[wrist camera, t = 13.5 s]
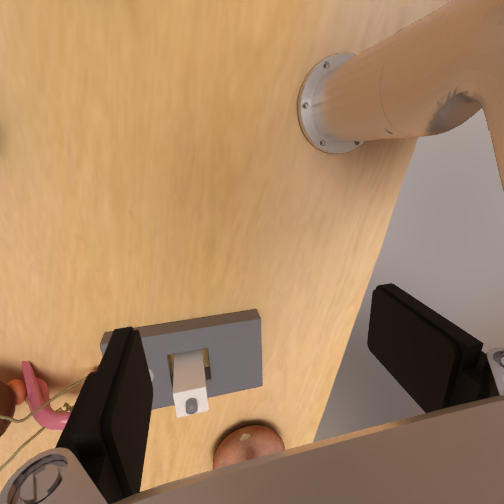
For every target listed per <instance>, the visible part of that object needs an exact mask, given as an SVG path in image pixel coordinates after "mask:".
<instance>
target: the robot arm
mask: <svg viewBox="0 0 504 504" xmlns="http://www.w3.org/2000/svg"><path fill="white" fill-rule="evenodd" d="M323 65H324V66H325V69H324V67H323ZM303 105H304V106H305V108H303ZM481 108H483V111H484V114H485V117H486V121H487V125H488V129H489V131H490V134H491V139H492V143H493V148H494V152H495V157H496V161H497V166H498V170H499V175H500V178H501V182H502V187H503V190H504V0H452V1H451V2H449V3H447V4H446V5H444V6H443V7H441V8H439V9H438V10H436V11H434V12H432V13H431V14H429V15H427V16H425V17H424V18H422V19H420V20H418V21H417V22H415V23H413V24H411V25H410V26H408V27H406V28H404V29H403V30H401V31H399V32H397V33H395V34H394V35H392V36H390V37H388V38H387V39H385V40H383V41H381V42H379V43H378V44H376V45H374V46H372V47H371V48H369V49H367V50H365V51H363V52H362V53H360V54H358V55H355V54H351V53H337V54H334V55H331V56H329V57H327V58H325V59H324V60H322V61H321V62H319V63H318V64H317V65H315V67H314V68H313V69H312V70H311V71H310V72H309V74H308V75H307V77H306V78H305V80H304V82H303V85H302V87H301V90H300V94H299V99H298V117H299V122H300V126H301V128H302V131H303V133H304V135H305V136H306V138H307V139H308V140H309V142H310V143H311V144H312V145H313V146H315V147H316V148H318V149H319V150H321V151H324V152H327V153H334V154H339V153H346V152H350V151H352V150H354V149H356V148H358V147H359V146H360V145H362V144H363V143H364V142H365V141H366V140H380V139H394V138H408V137H419V136H430V135H437V134H440V133H444V132H447V131H449V130H451V129H453V128H455V127H457V126H459V125H461V124H462V123H464V122H465V121H467V120H468V119H469V118H470V117H472V116H473V115H474V114H475V113H476V112H477V111H478V110H480V109H481ZM354 141H355V143H354ZM320 142H321V145H320ZM367 344H368V347H369V350H370V351H371V352H372V353H373V354H374V355H375V357H376V358H377V359H378V360H379V361H380V362H381V363H382V365H383V366H384V367H385V368H386V369H387V370H388V371H389V372H390V373H391V375H392V376H393V377H394V378H395V379H396V380H397V381H398V382H399V384H400V385H401V386H402V387H403V388H404V389H405V390H406V391H407V392H408V394H409V395H410V396H411V397H412V398H413V399H414V400H415V401H416V403H417V404H418V405H419V406H420V407H421V408H422V409H423V410H424V411H425V414H421V415H418V416H414V417H410V418H406V419H402V420H398V421H394V422H390V423H386V424H382V425H379V426H375V427H371V428H367V429H364V430H360V431H356V432H352V433H348V434H345V435H340V436H337V437H333V438H330V439H325V440H322V441H318V442H314V443H310V444H306V445H303V446H299V447H295V448H291V449H288V450H284V451H280V452H277V453H273V454H269V455H266V456H262V457H258V458H254V459H251V460H247V461H243V462H240V463H236V464H232V465H228V466H225V467H221V468H218V469H214V470H211V471H207V472H204V473H200V474H197V475H193V476H190V477H186V478H183V479H180V480H176V481H173V482H169V483H166V484H163V485H160V486H157V487H154V488H151V489H148V490H145V491H142V492H140V486H141V479H142V472H143V465H144V458H145V451H146V444H147V437H148V430H149V423H150V416H151V409H152V402H153V385H152V381H151V377H150V373H149V369H148V365H147V360H146V356H145V352H144V348H143V344H142V340H141V336H140V332H139V330H134V329H133V327H126V328H120V329H115V330H114V331H113V334H112V336H111V338H110V341H109V343H108V346H107V348H106V351H105V353H104V355H103V358H102V360H101V363H100V365H99V367H98V370H97V371H95V372H91V373H90V374H89V375H88V376H87V378H86V380H85V383H84V385H83V387H82V389H81V391H80V394H79V396H78V398H77V400H76V403H75V405H74V407H73V409H72V412H71V414H70V416H69V418H68V421H67V423H66V425H65V427H64V430H63V432H62V434H61V436H60V439H59V441H58V443H57V445H56V447H55V448H54V449H49V450H47V451H44V452H42V453H40V454H38V455H36V456H35V457H33V458H31V459H30V460H28V461H27V462H26V463H25V464H24V465H22V466H21V467H20V468H19V469H18V470H17V471H16V472H15V473H14V474H13V475H12V476H11V478H10V479H9V480H8V481H7V483H6V485H5V486H4V488H3V490H2V491H1V494H0V504H504V348H493V349H490V350H489V351H488V352H487V354H485V353H484V352H482V351H481V350H482V347H483V343H482V342H480V341H479V340H477V339H476V338H474V337H473V336H471V335H470V334H468V333H467V332H465V331H464V330H462V329H461V328H459V327H458V326H456V325H455V324H453V323H452V322H450V321H449V320H447V319H446V318H444V317H442V316H441V315H440V314H438V313H436V312H435V311H434V310H432V309H430V308H429V307H427V306H426V305H424V304H423V303H421V302H420V301H418V300H417V299H415V298H414V297H412V296H411V295H409V294H408V293H406V292H405V291H403V290H402V289H400V288H399V287H397V286H396V285H394V284H384V285H379V286H377V287H376V289H375V290H374V291H373V295H372V304H371V314H370V323H369V332H368V342H367Z"/></svg>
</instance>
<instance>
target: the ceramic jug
mask: <svg viewBox="0 0 504 504" xmlns="http://www.w3.org/2000/svg"><path fill="white" fill-rule="evenodd" d="M284 450H285V447H284V443H283V441H282V439H281V437H280V436H279V435H278V434H277V433H276V432H275V431H273V430H272V429H271V428H268V427H266V426H260V425H252V426H246V427H243V428H240V429H238V430H236V431H234V432H232V433H231V434H229V435H228V436H227V437H226V438H225V439H224V440H223V441H222V442H221V443H220V445H219V446H218V448H217V450H216V452H215V455H214V459H213V470H214V469H218V468H221V467H225V466H228V465H232V464H236V463H240V462H243V461H247V460H251V459H254V458H258V457H262V456H266V455H269V454H273V453H277V452H280V451H284Z"/></svg>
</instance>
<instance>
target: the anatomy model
mask: <svg viewBox="0 0 504 504" xmlns="http://www.w3.org/2000/svg"><path fill="white" fill-rule="evenodd" d="M22 368H23V374H24V379H25V382H24V381H22V380H19V379H13V380H11V381H9V382H8V383H7V384H4V383H3V382H1V381H0V437H1V436H2V435H3V434H4V432H5V431H6V429H7V428H8V426H9V425H10V423H11V421H12V422H15V423H20V422H23V421H25V420H27V419H28V418H29V417H30V416H33V417H34V419H35V420H36V421H37V422H38V423H39V424H40V425H41V426H42V427H43V428H42V429H40V430H39V431H38V432H37V433H36V434H35V435H34V436H32V437H31V438H30V439H29V440H27V441H26V442H25V443H24V444H23V445H22V446H21V447H20V448H19V449H18V450H17V451H16V452H15V453H14V454H13V456H12V457H11V458H10V459H9V460H8V461H7V462H6V463H5V464H4V465H3V466H1V467H0V471H1V470H2V469H3V468H4V467H5V466H6V465H7V464H8V463H9V462H10V461H11V460H12V459H13V458H14V457H15V456H16V455H17V453H18V452H19V451H20V450H21V449H22V448H23V447H24V446H25V445H26V444H28V443H29V442H30V441H31V440H32V439H34V438H35V437H36V436H37V435H38V434H39V433H40V432H42V431H43V430H44V429H45V428H47V429H51V430H64V427H65V425H66V423H67V421H68V418H69V416H70V414H71V412H72V411H71V410H72V409H73V407H74V406H72V407H71V406H69V404H68V403H65V404H66V405H65V404H64V406H63V407H65V406H66V410H65V411H64V410H62V409H61V407H60V408H59V409H58V410H56V411H54V410H52V408H51V406H50V402H51V401H53V400H54V399H55V398H57V397H58V396H60V395H61V394H63V393H64V392H66V391H68V390H69V389H71V388H72V387H74V386H76V385H77V384H79V383H81V382H83V381H84V380H86V378H87V377H86V378H84V379H82V380H80V381H79V382H77V383H75V384H73V385H72V386H70V387H68V388H67V389H65V390H64V391H62V392H61V393H59V394H57V395H56V396H54V397H53V398H52V399H50V398H49V389H48V386H47V384H46V382H45V381H44V380H42V379H40V378H36V377H35V374H34V371H33V368H32V366H31V364H30V362H29V361H28V362H25V361H23V362H22ZM97 370H98V369H97ZM97 370H96V371H97ZM94 372H95V371H94ZM24 400H25V401H26V402H27V404H28V405H29V408H30V411H31V413H30V414H29V415H28V416H27V417H25V418H24V419H21V420H16V419H13V416H14V413H15V405H19V404H21V403H22V402H23V401H24ZM60 409H61V410H60ZM59 410H60V411H59ZM69 410H70V412H67V411H69Z"/></svg>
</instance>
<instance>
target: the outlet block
mask: <svg viewBox="0 0 504 504" xmlns="http://www.w3.org/2000/svg"><path fill="white" fill-rule="evenodd" d="M133 329H134V330H139V332H140V336H141V340H142V344H143V348H144V352H145V356H146V360H147V365H148V369H149V373H150V377H151V381H152V385H153V402H152V409H151V410H153V409H157V408H162V407H167V406H171V405H175V403H174V398H173V376H174V374H173V373H172V367H171V361H170V354H175V353H181V352H187V351H192V350H198V349H203V348H208V355H209V364H210V367H205V377H206V387H207V396H208V398H209V397H213V396H218V395H223V394H227V393H232V392H237V391H241V390H246V389H251V388H256V387H260V386H263V383H262V345H261V318H260V316H259V314H258V312H257V310H256V309H254V310H247V311H241V312H234V313H228V314H221V315H215V316H208V317H202V318H195V319H189V320H183V321H176V322H170V323H163V324H157V325H150V326H144V327H137V328H133ZM112 334H113V331H111V332H105V334H104V336H103V338H102V341H101V343H100V348H101V352H102V355H104V353H105V351H106V348H107V346H108V343H109V341H110V338H111V336H112Z"/></svg>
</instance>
